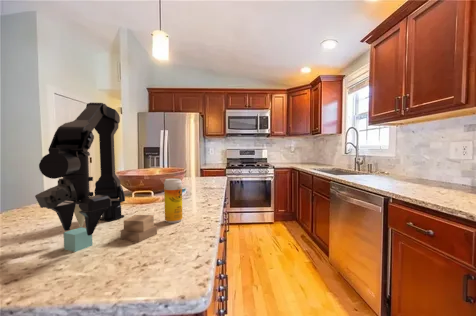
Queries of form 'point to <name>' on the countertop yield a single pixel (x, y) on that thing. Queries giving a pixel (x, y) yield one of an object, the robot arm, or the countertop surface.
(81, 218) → the ice cream cone
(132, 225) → the slab upper
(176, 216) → the beer can
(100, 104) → the robot arm
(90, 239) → the teal cube
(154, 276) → the countertop surface
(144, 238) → the slab lower
